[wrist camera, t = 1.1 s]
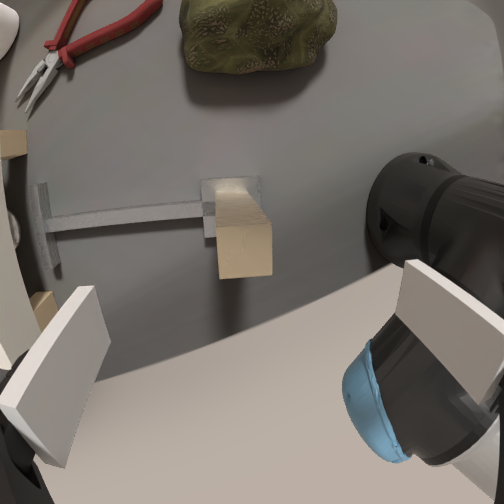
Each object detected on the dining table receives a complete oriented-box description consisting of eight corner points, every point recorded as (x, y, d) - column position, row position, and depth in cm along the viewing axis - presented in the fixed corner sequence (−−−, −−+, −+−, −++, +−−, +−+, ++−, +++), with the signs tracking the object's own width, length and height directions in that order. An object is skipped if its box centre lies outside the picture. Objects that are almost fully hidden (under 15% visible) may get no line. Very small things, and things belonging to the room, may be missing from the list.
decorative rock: (306, 99, 30) (346, 96, 21) (166, 71, 26) (152, 52, 17) (329, -3, 24) (371, -31, 15) (199, -36, 20) (202, -80, 11)
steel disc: (26, 220, 29) (22, 222, 28) (17, 258, 30) (13, 261, 29) (-2, 200, 27) (-6, 201, 26) (-10, 237, 28) (-14, 240, 27)
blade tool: (257, 157, 30) (295, 164, 16) (260, 247, 33) (292, 319, 19) (39, 183, 27) (-47, 213, 13) (53, 262, 31) (-14, 325, 17)
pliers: (6, 86, 22) (-5, 84, 20) (113, -30, 19) (107, -40, 17) (49, 133, 26) (38, 133, 24) (168, 5, 23) (165, -4, 20)
